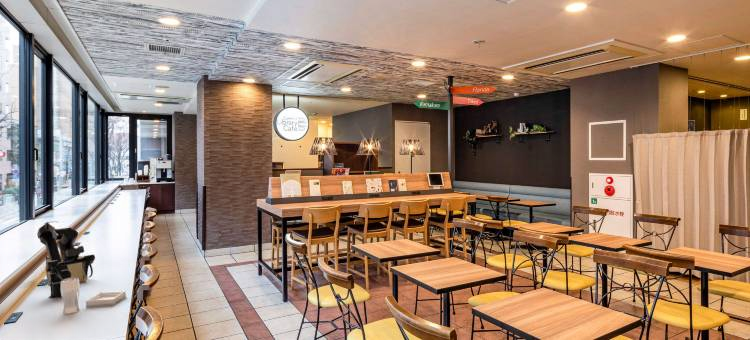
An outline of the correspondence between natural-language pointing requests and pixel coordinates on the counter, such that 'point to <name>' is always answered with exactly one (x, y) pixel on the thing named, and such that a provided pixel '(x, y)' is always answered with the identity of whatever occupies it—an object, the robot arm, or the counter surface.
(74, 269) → the clutch purse
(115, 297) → the tray
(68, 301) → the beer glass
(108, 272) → the counter surface
